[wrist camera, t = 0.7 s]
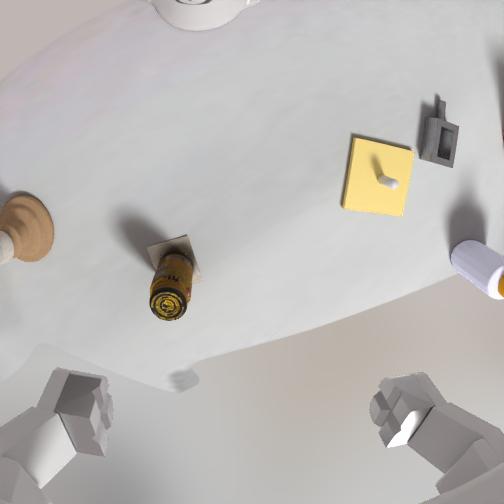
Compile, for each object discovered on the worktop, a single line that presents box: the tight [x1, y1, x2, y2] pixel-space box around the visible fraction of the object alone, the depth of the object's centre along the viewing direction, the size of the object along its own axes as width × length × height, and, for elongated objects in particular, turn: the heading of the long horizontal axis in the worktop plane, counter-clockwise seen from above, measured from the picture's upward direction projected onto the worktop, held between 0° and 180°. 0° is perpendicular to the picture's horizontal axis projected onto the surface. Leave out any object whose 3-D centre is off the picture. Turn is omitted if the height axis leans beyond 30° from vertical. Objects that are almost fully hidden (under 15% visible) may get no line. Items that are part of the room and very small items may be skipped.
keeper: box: [342, 138, 415, 216], centre depth 49 cm, size 12×12×6 cm
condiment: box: [146, 236, 203, 321], centre depth 48 cm, size 7×8×12 cm
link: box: [420, 100, 459, 168], centre depth 48 cm, size 12×6×4 cm, turn 174°
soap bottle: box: [450, 240, 504, 299], centre depth 52 cm, size 13×8×20 cm, turn 79°
